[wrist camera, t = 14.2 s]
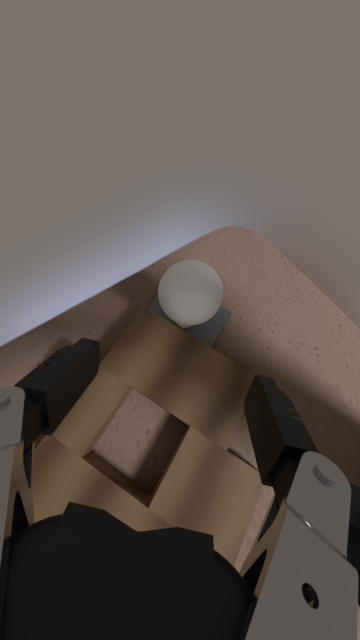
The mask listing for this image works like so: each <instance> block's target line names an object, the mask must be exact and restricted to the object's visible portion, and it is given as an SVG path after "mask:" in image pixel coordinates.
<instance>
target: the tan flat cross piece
mask: <svg viewBox="0 0 360 640" xmlns="http://www.w3.org/2000/svg"><path fill="white" fill-rule="evenodd" d="M255 375H257V374H255V373H254V372H252V371H250V370H249V369H247V368H245V367H244V366H242V365H240V364H238V363H237V362H235V361H233V360H232V359H230V358H228V357H227V356H225V355H223V354H222V353H220V352H218V351H216V350H215V349H213V348H211V347H210V346H208V345H206V344H205V343H203V342H201V341H200V340H198V339H196V338H194V337H193V336H191V335H189V334H188V333H186V332H184V331H183V330H181V329H179V328H177V327H176V326H174V325H172V324H171V323H169V322H167V321H166V320H164V319H162V318H161V317H159V316H157V315H155V314H154V313H152V312H150V311H149V310H147V309H145V308H144V307H142V308H141V309H140V310H139V312H138V313H137V314H136V316H135V317H134V318H133V320H132V321H131V322H130V324H129V325H128V326H127V328H126V329H125V330H124V332H123V333H122V334H121V336H120V337H119V338H118V340H117V341H116V342H115V344H114V345H113V346H112V348H111V349H110V350H109V352H108V353H107V354H106V356H105V357H104V358H103V360H102V361H101V362H100V364H99V369H98V373H97V375H96V377H95V378H94V380H93V381H92V382H91V384H90V385H89V386H88V388H87V389H86V390H85V392H84V393H83V394H82V396H81V397H80V398H79V400H78V401H77V402H76V404H75V405H74V406H73V408H72V409H71V410H70V412H69V413H68V414H67V416H66V417H65V418H64V420H63V421H62V422H61V424H60V425H59V426H58V428H57V429H56V430H55V432H54V433H53V434H52V436H49V435H45V437H44V438H43V439H42V441H41V442H40V443H39V445H38V446H37V447H36V449H35V450H34V476H33V505H34V523H35V522H37V521H40V520H42V519H45V518H47V517H51V516H55V515H59V514H63V513H64V511H65V509H66V507H67V505H68V503H69V502H73V503H78V504H82V505H86V506H91V507H95V508H99V509H104V510H105V511H107V512H108V513H110V514H111V515H113V516H114V517H116V518H117V519H119V520H120V521H122V522H123V523H125V524H126V525H128V526H129V527H131V528H132V529H134V530H136V531H149V530H156V529H164V528H171V527H181V528H185V529H189V530H194V531H198V532H202V533H206V534H211V535H213V540H214V550H216V551H217V552H219V553H220V554H221V555H222V556H223V557H224V558H226V559H227V560H228V561H229V562H230V563H231V564H232V565H233V567H234V564H235V561H236V558H237V555H238V552H239V550H240V547H241V544H242V541H243V538H244V536H245V533H246V530H247V527H248V524H249V522H250V519H251V516H252V513H253V510H254V507H255V505H256V502H257V499H258V496H259V493H260V491H261V488H262V483H261V479H260V474H259V470H257V469H256V468H255V467H254V466H252V465H251V464H249V463H248V462H246V461H245V460H243V459H242V458H240V457H239V456H237V455H236V454H234V453H233V452H231V451H229V450H228V447H229V445H230V442H231V440H232V438H233V435H234V433H235V431H236V428H237V426H238V424H239V421H240V419H241V417H242V415H243V412H244V402H245V397H246V395H247V393H248V390H249V388H250V385H251V383H252V381H253V378H254V377H255ZM132 388H133V389H135V390H136V391H138V392H139V393H141V394H142V395H144V396H145V397H147V398H149V399H150V400H152V401H153V402H155V403H156V404H158V405H159V406H161V407H162V408H164V409H165V410H167V411H168V412H170V413H171V414H173V415H174V416H176V417H177V418H179V419H180V420H182V421H183V422H185V423H186V424H187V426H186V428H185V430H184V432H183V434H182V436H181V438H180V440H179V442H178V444H177V445H176V447H175V449H174V451H173V453H172V455H171V457H170V459H169V461H168V463H167V465H166V467H165V468H164V470H163V472H162V474H161V476H160V478H159V480H158V482H157V484H156V486H155V488H154V490H153V491H152V493H151V495H150V494H148V493H147V492H146V491H144V490H143V489H142V488H140V487H139V486H138V485H136V484H135V483H134V482H132V481H131V480H130V479H128V478H127V477H125V476H124V475H123V474H121V473H120V472H119V471H117V470H116V469H115V468H113V467H112V466H111V465H109V464H108V463H107V462H105V461H104V460H103V459H101V458H100V457H99V456H97V455H96V454H95V453H93V452H92V451H91V450H92V449H93V447H94V446H95V444H96V443H97V441H98V440H99V438H100V437H101V435H102V434H103V432H104V431H105V429H106V428H107V426H108V425H109V423H110V421H111V420H112V418H113V417H114V415H115V414H116V412H117V411H118V409H119V408H120V406H121V405H122V403H123V402H124V400H125V399H126V397H127V396H128V394H129V393H130V391H131V389H132Z"/></svg>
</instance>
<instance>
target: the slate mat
mask: <svg viewBox="0 0 360 640" xmlns="http://www.w3.org/2000/svg"><path fill="white" fill-rule="evenodd" d="M147 310H149V311H150V312H152V313H154V314H155V315H157V316H159V317H161V318H162V319H164V320H166V321H167V322H169V323H171V324H172V325H174V326H176V327H177V328H179V329H181V330H183V331H184V332H186V333H188V334H189V335H191V336H193V337H194V338H196V339H198V340H200V341H201V342H203V343H205V344H206V345H208V346H210V347H211V348H212V346H213V345H214V343H215V341H216V339H217V337H218V336H219V334H220V332H221V330H222V328H223V327H224V325H225V323H226V321H227V319H228V317H229V316H230V314H231V312H229V311H227V310H225V309H223V308H222V307H220V308H219V309H218V311H217V312H216V314H215V315H214V316H213V317H212V318H210V319H209V320H207V321H206V322H203V323H201V324H198V325H192V326H191V327H189V328H180V327H179V326H177V324H176V323H175V321H173V320H172V319H170V318H169V317H168V316H167V315H166V313H165V312H164V311H163V309H162V308H161V305H160V303H159V298H158V294H157V296H156V297H155V298H154V300H153V301H152V302H151V304H150V305H149V306H148V308H147Z"/></svg>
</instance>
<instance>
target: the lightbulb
mask: <svg viewBox="0 0 360 640" xmlns="http://www.w3.org/2000/svg"><path fill="white" fill-rule="evenodd" d="M158 298H159V303H160V305H161V308H162V309H163V311H164V312H165V313H166V315H167V316H168V317H169V318H170V319H172V320H173V321H175V323H176V324H177V326H179V327H180V328H189V327H191V326H192V325H198V324H201V323H203V322H206V321H207V320H209V319H210V318H212V317H213V316H214V315H215V314H216V312H217V311H218V309H219V308H220V306H221V303H222V298H223V286H222V282H221V279H220V277H219V275H218V274H217V273H216V271H215V270H214V269H213V268H212V267H210V266H209V265H208V264H206V263H204V262H201V261H197V260H184V261H181V262H178V263H176V264H174V265H172V266H171V267H170V268H169V269H168V270H167V271H166V272H165V273H164V275H163V276H162V278H161V280H160V283H159V287H158Z"/></svg>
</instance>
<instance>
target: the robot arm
mask: <svg viewBox="0 0 360 640" xmlns="http://www.w3.org/2000/svg"><path fill="white" fill-rule="evenodd" d="M98 369H99V342H98V341H96V340H91V339H86V338H81V339H80V340H79V341H78V342H77V343H75V344H74V345H73V346H70V345H69V346H66V347H64V348H62V349H59V350H58V351H56V352H55V353H54V354H53V355H51V356H50V358H48V359H46V360H45V361H44V362H43V364H40V365H39V366H38V367H37V368H35V369H34V370H33V371H32V372H30V373H29V374H28V375H27V376H25V377H24V378H23V379H22V380H20V381H19V382H18V383H17V384H15V385H14V386H4V387H0V640H357V613H358V604H359V606H360V488H359V487H357V486H355V485H353V484H351V483H349V482H348V480H347V478H346V476H345V475H344V474H343V472H342V471H341V470H340V469H339V468H338V467H337V466H336V465H335V464H334V463H333V462H332V461H331V460H329V459H328V458H326V457H325V456H323V455H321V454H319V452H318V450H317V448H316V446H315V445H314V443H313V441H312V439H311V437H310V435H309V433H308V431H307V429H306V428H305V426H304V424H303V422H302V420H300V419H301V418H300V416H299V414H298V412H296V409H295V407H294V405H293V403H292V401H291V400H290V399H289V397H288V396H287V395H286V394H285V393H284V392H283V391H280V390H278V388H277V386H276V384H275V381H274V380H273V378H269V377H264V376H260V375H255V377H254V378H253V381H252V383H251V385H250V388H249V390H248V393H247V395H246V397H245V402H244V410H245V415H246V419H247V423H248V428H249V432H250V436H251V440H252V445H253V449H254V453H255V457H256V462H257V466H258V470H259V474H260V479H261V483H262V485H267V486H271V487H273V489H274V492H275V496H274V497H273V499H272V501H271V503H270V506H269V508H268V511H267V513H266V515H265V518H264V520H263V523H262V525H261V528H260V530H259V532H258V535H257V537H256V540H255V542H254V544H253V547H252V549H251V551H250V553H249V554H248V556H247V558H246V560H245V562H244V564H243V566H242V568H241V570H240V572H239V573H238V571H237V570H236V569H235V568H234V567H233V565H232V564H231V563H230V562H229V561H228V560H227V559H226V558H224V557H223V556H222V555H221V554H220V553H219V552H217V551H216V550H214V540H213V535H211V534H206V533H202V532H198V531H194V530H189V529H185V528H181V527H171V528H164V529H156V530H149V531H136V530H134V529H132V528H131V527H129V526H128V525H126V524H125V523H123V522H122V521H120V520H119V519H117V518H116V517H114V516H113V515H111V514H110V513H108V512H107V511H105V510H104V509H99V508H95V507H91V506H86V505H82V504H78V503H73V502H69V503H68V505H67V507H66V509H65V511H64V513H63V514H59V515H55V516H51V517H47V518H45V519H42V520H40V521H37V522H35V523H34V505H33V476H34V450H35V443H34V441H35V440H36V439H37V437H38V436H39V435H40V434H45V435H49V436H52V434H53V433H54V432H55V430H56V429H57V428H58V426H59V425H60V424H61V422H62V421H63V420H64V418H65V417H66V416H67V414H68V413H69V412H70V410H71V409H72V408H73V406H74V405H75V404H76V402H77V401H78V400H79V398H80V397H81V396H82V394H83V393H84V392H85V390H86V389H87V388H88V386H89V385H90V384H91V382H92V381H93V380H94V378H95V377H96V375H97V373H98Z"/></svg>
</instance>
